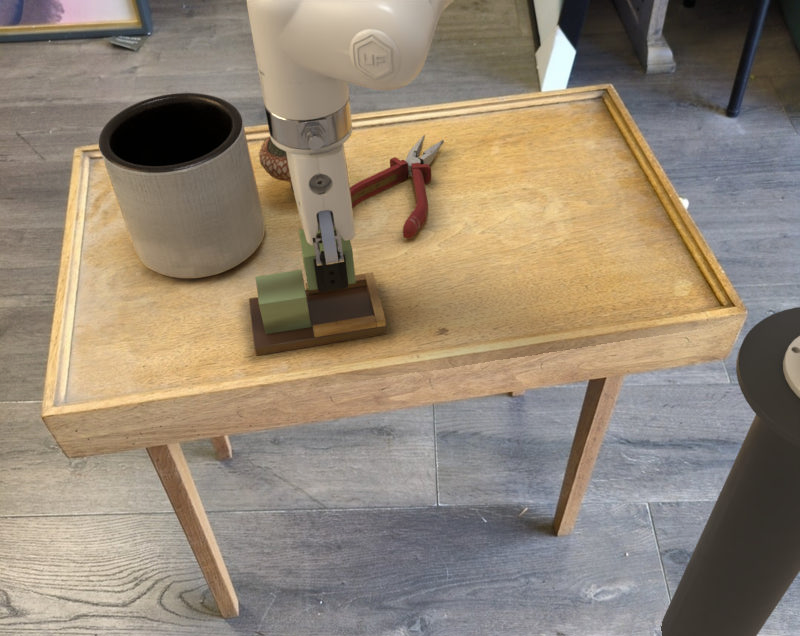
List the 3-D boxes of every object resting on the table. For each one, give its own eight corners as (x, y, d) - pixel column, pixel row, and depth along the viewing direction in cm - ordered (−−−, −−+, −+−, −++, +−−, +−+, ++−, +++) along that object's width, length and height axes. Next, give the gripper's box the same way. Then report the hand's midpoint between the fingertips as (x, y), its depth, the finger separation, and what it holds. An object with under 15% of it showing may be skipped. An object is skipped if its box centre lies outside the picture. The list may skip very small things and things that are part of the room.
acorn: (296, 166, 112) (285, 98, 105) (342, 188, 109) (334, 119, 101) (253, 196, 108) (238, 128, 101) (299, 220, 105) (288, 150, 97)
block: (303, 262, 90) (298, 229, 86) (349, 255, 90) (345, 222, 87) (308, 290, 87) (303, 257, 83) (355, 283, 87) (352, 249, 84)
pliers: (473, 154, 112) (473, 137, 110) (413, 244, 101) (413, 227, 99) (395, 138, 116) (394, 121, 114) (329, 223, 104) (327, 206, 102)
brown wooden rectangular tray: (387, 334, 91) (384, 295, 87) (256, 355, 90) (246, 318, 86) (374, 286, 96) (371, 247, 92) (250, 306, 95) (241, 267, 91)
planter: (121, 227, 106) (80, 116, 94) (239, 187, 110) (214, 76, 98) (159, 302, 96) (119, 189, 84) (287, 255, 101) (266, 142, 89)
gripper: (366, 164, 69) (378, 321, 83) (337, 64, 80) (352, 218, 94) (276, 177, 69) (303, 333, 83) (259, 74, 79) (286, 227, 93)
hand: (329, 270), depth 88 cm, fingers closed on block, 4 cm apart
